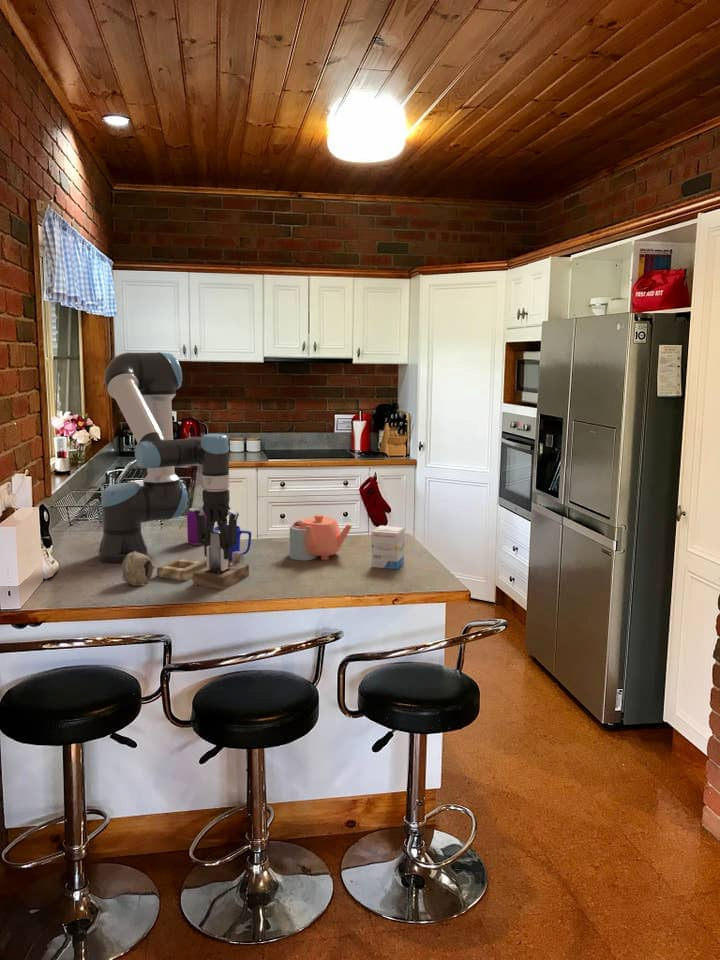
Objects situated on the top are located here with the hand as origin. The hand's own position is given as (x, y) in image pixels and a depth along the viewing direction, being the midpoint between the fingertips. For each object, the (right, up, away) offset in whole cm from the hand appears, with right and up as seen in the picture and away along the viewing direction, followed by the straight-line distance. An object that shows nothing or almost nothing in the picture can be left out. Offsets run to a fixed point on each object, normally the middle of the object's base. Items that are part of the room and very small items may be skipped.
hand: (217, 568), depth 221 cm
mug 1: (0, 0, +25) cm, 25 cm away
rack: (-12, -3, +8) cm, 15 cm away
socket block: (+1, -4, +3) cm, 5 cm away
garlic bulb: (-23, -4, 0) cm, 23 cm away
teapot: (+28, 0, +29) cm, 40 cm away
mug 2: (+25, 0, +27) cm, 37 cm away
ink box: (+50, -1, +20) cm, 54 cm away
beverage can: (-14, +4, +43) cm, 46 cm away
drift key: (+3, -3, +8) cm, 9 cm away
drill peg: (0, -4, +1) cm, 4 cm away
